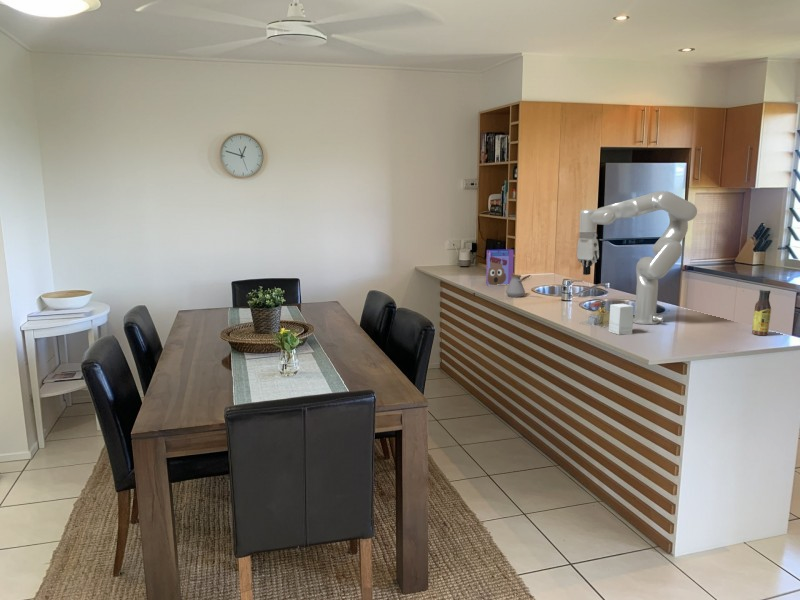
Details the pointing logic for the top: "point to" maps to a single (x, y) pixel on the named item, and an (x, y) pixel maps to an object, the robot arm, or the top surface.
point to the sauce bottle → (762, 314)
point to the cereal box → (499, 266)
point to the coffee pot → (516, 286)
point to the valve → (598, 318)
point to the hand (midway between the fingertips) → (586, 274)
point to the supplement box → (621, 319)
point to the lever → (598, 303)
